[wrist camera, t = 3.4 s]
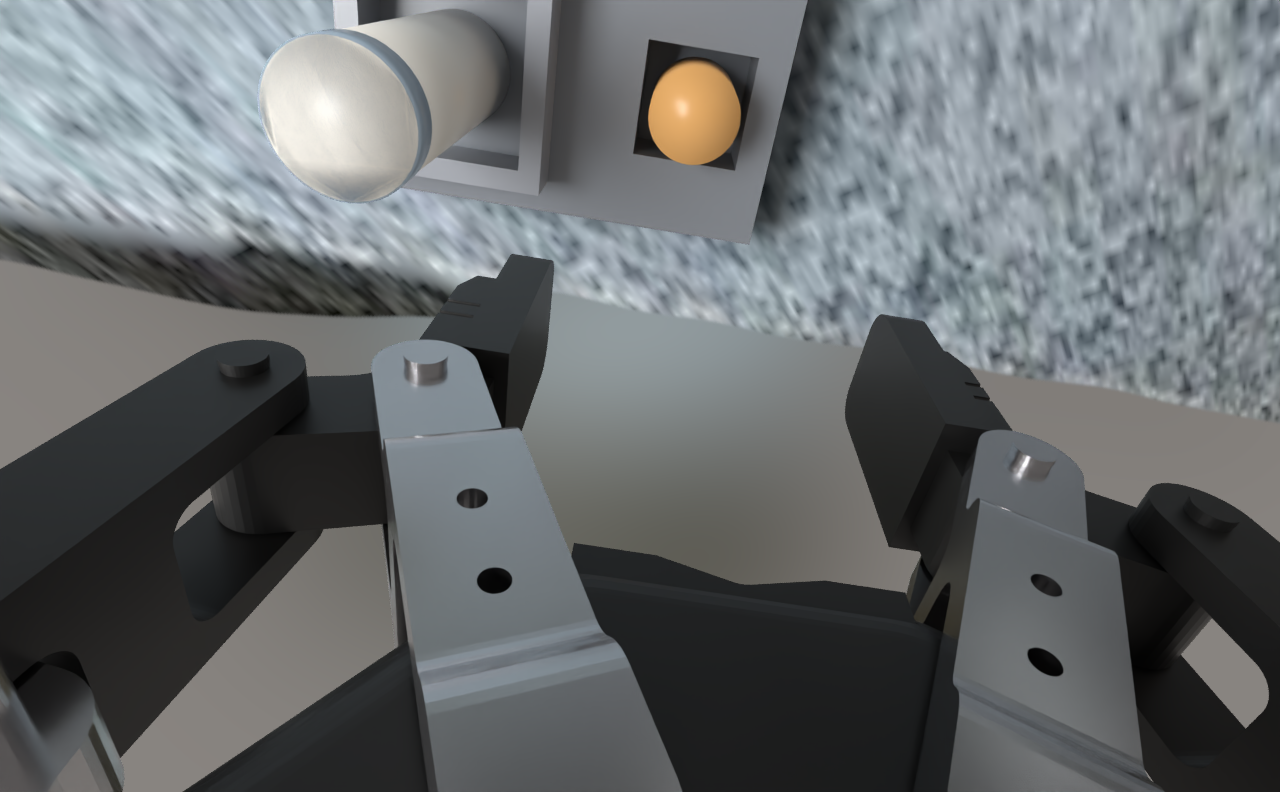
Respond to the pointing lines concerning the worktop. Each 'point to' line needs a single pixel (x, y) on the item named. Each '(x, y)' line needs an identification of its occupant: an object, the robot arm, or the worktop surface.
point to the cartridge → (379, 99)
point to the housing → (613, 108)
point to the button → (694, 111)
